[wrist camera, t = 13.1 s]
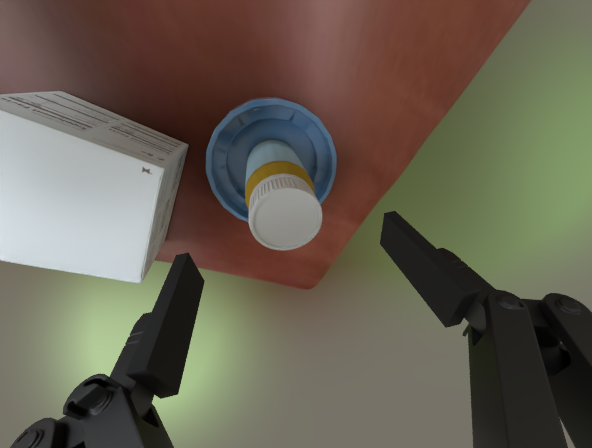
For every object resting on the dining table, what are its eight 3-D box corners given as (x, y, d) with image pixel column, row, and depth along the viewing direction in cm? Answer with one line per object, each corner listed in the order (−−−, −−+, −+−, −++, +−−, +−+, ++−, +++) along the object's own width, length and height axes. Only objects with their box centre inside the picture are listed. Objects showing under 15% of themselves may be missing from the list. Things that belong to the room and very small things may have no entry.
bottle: (287, 192, 32) (308, 259, 20) (241, 179, 30) (234, 246, 18) (304, 148, 29) (342, 196, 17) (254, 130, 27) (256, 170, 15)
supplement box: (57, 87, 22) (-46, 90, 15) (190, 143, 27) (166, 167, 20) (61, 215, 29) (-7, 262, 22) (165, 241, 34) (140, 286, 27)
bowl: (185, 131, 26) (174, 139, 23) (303, 72, 25) (312, 70, 21) (249, 225, 36) (248, 242, 32) (338, 186, 34) (349, 198, 31)
